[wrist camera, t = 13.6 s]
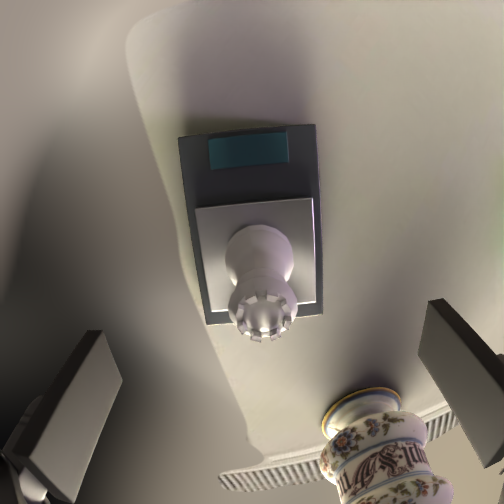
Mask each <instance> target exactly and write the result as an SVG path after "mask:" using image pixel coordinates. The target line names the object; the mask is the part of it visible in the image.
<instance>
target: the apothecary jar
mask: <svg viewBox="0 0 504 504" xmlns="http://www.w3.org/2000/svg"><path fill="white" fill-rule="evenodd" d="M400 409H401V399H400V397H399V395H398V394H397V393H396V392H395V391H393V390H391V389H388V388H382V387H375V388H368V389H364V390H360V391H357V392H355V393H352V394H350V395H348V396H346V397H344V398H343V399H341V400H340V401H338V402H337V403H336V404H334V405H333V406H332V407H331V408H330V409H329V411H328V412H327V413H326V415H325V416H324V419H323V421H322V431H323V433H324V435H325V436H326V437H327V438H329V439H330V441H329V442H328V444H327V445H326V446H325V448H324V449H323V451H322V453H321V456H320V468H321V471H322V473H323V475H324V476H325V477H326V478H327V479H328V480H329V481H330V482H332V483H334V484H336V485H337V489H338V492H339V496H340V500H341V504H450V503H451V501H452V499H453V494H454V491H453V486H452V484H451V483H450V481H449V480H448V479H446V478H444V477H441V476H434V474H433V472H432V470H431V468H430V466H429V463H428V461H427V458H426V455H425V452H424V450H423V449H424V447H425V445H426V442H427V436H428V433H427V428H426V425H425V423H424V422H423V421H422V419H421V418H419V417H418V416H417V415H415V414H412V413H409V412H404V411H400Z"/></svg>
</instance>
